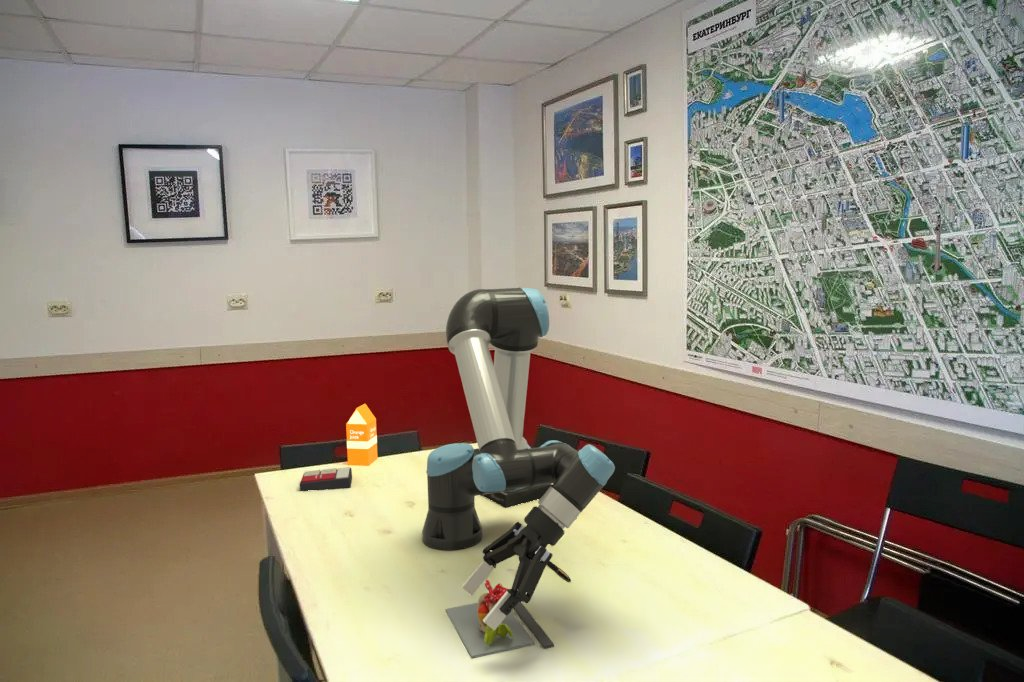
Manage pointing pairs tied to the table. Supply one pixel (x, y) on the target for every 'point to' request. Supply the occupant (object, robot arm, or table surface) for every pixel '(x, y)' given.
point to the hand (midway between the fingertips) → (476, 607)
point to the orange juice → (361, 437)
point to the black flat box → (518, 495)
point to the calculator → (326, 479)
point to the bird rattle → (485, 607)
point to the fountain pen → (559, 571)
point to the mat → (474, 638)
